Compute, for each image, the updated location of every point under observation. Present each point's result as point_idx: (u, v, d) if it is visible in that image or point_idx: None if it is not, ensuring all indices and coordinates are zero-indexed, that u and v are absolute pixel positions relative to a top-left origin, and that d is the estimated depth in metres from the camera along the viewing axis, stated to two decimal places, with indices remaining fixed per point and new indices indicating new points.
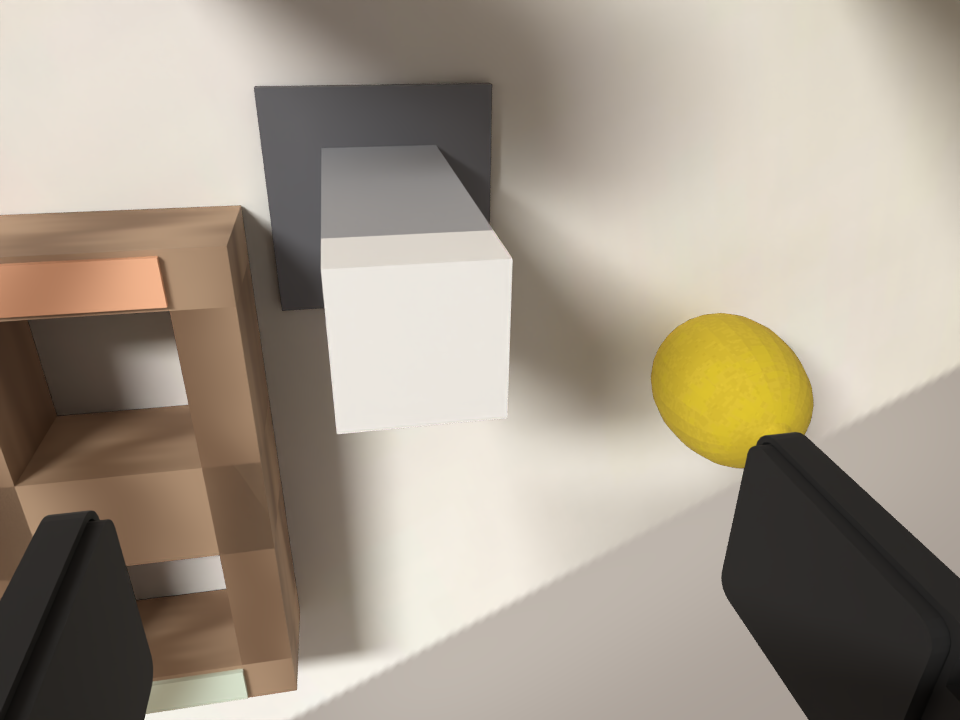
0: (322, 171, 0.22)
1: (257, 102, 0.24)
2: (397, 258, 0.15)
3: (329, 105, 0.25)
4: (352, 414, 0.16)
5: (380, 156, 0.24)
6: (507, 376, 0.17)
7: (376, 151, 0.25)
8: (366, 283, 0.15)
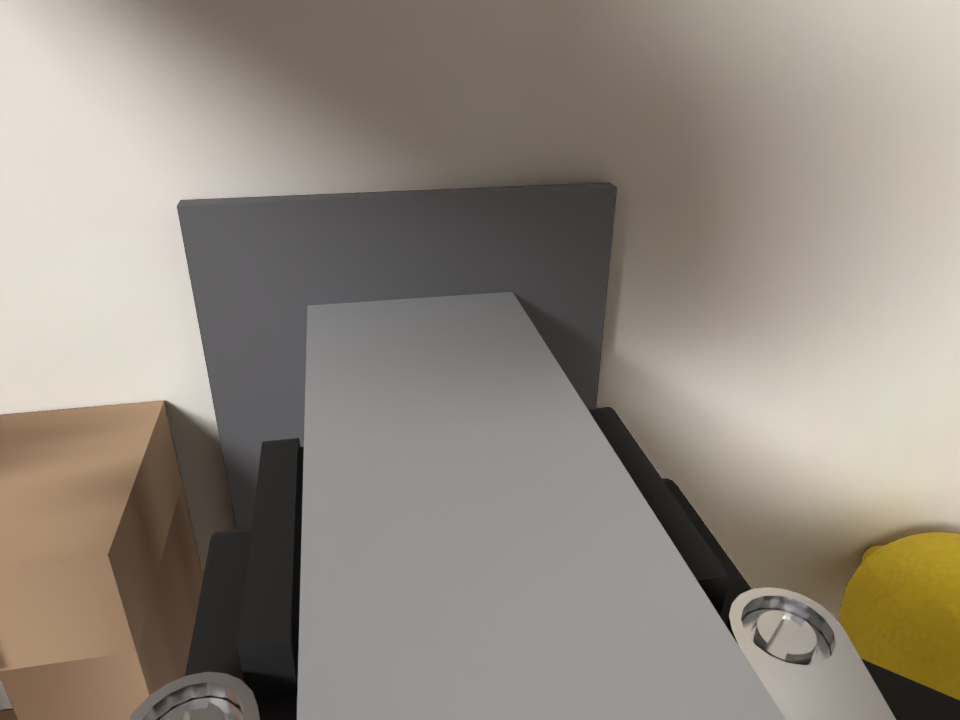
0: (307, 395, 0.11)
1: (184, 231, 0.13)
2: None
3: (321, 232, 0.13)
4: None
5: (419, 333, 0.13)
6: None
7: (408, 313, 0.13)
8: None
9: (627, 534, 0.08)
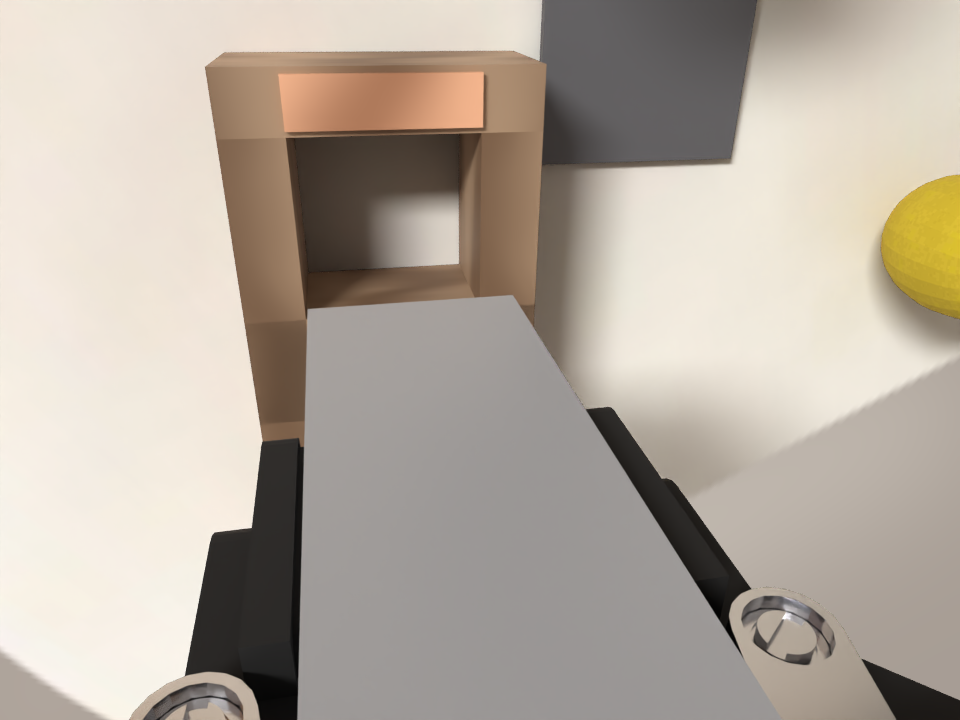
0: (307, 399, 0.11)
1: None
2: None
3: None
4: None
5: (419, 337, 0.13)
6: None
7: (408, 317, 0.13)
8: None
9: (628, 540, 0.08)
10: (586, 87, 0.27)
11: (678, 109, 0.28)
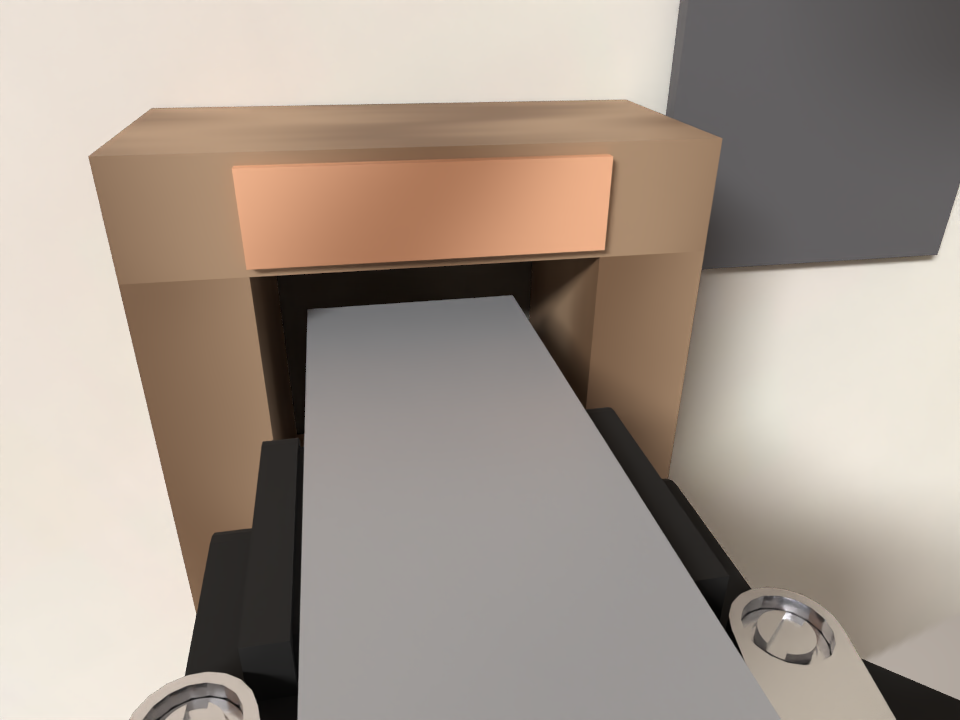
0: (307, 399, 0.11)
1: None
2: None
3: None
4: None
5: (419, 337, 0.13)
6: None
7: (408, 317, 0.13)
8: None
9: (627, 540, 0.08)
10: (737, 155, 0.17)
11: (871, 185, 0.18)
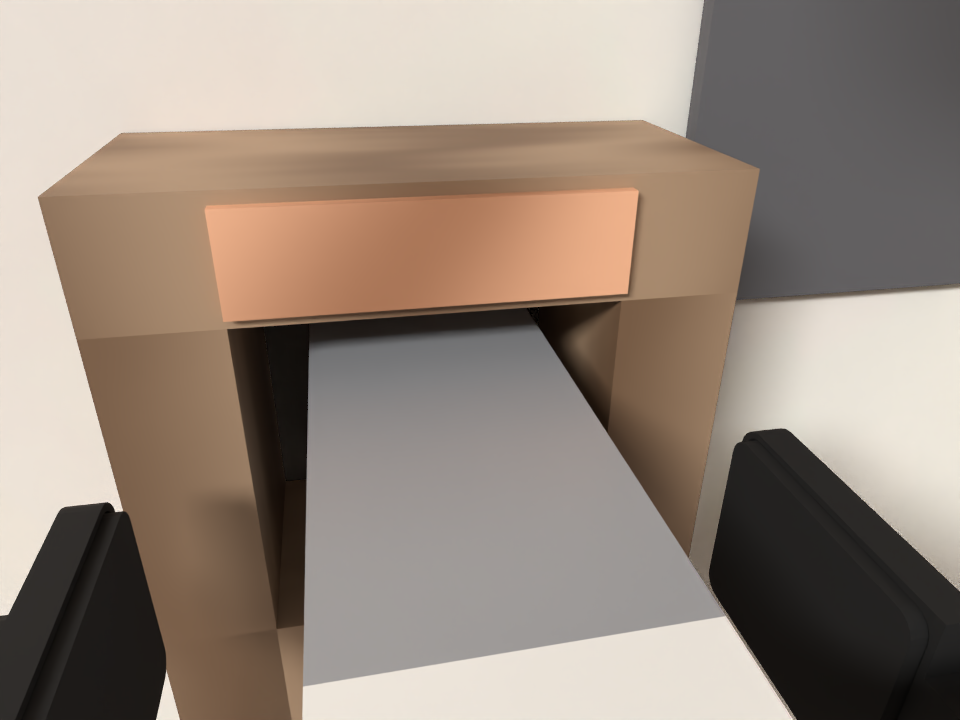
0: (311, 353, 0.12)
1: None
2: None
3: None
4: None
5: None
6: None
7: None
8: None
9: (589, 459, 0.09)
10: (763, 179, 0.16)
11: (906, 210, 0.17)
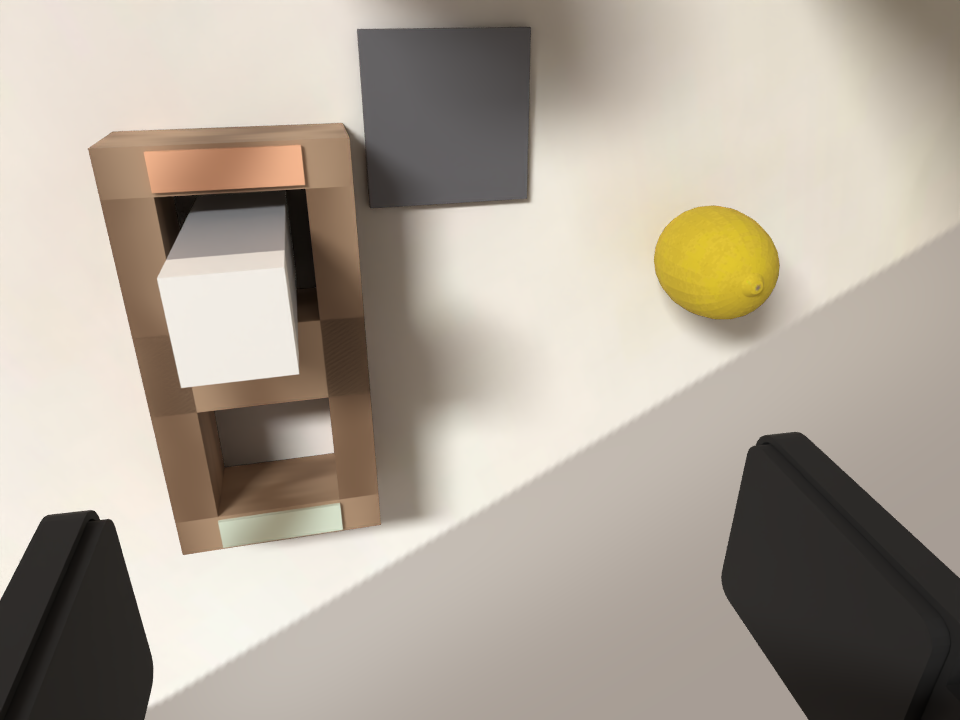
0: (189, 213, 0.31)
1: (359, 40, 0.32)
2: (209, 270, 0.24)
3: (411, 43, 0.33)
4: (190, 373, 0.25)
5: (238, 200, 0.33)
6: (295, 345, 0.26)
7: (237, 196, 0.34)
8: (188, 286, 0.24)
9: (273, 230, 0.28)
10: (402, 148, 0.35)
11: (478, 162, 0.36)
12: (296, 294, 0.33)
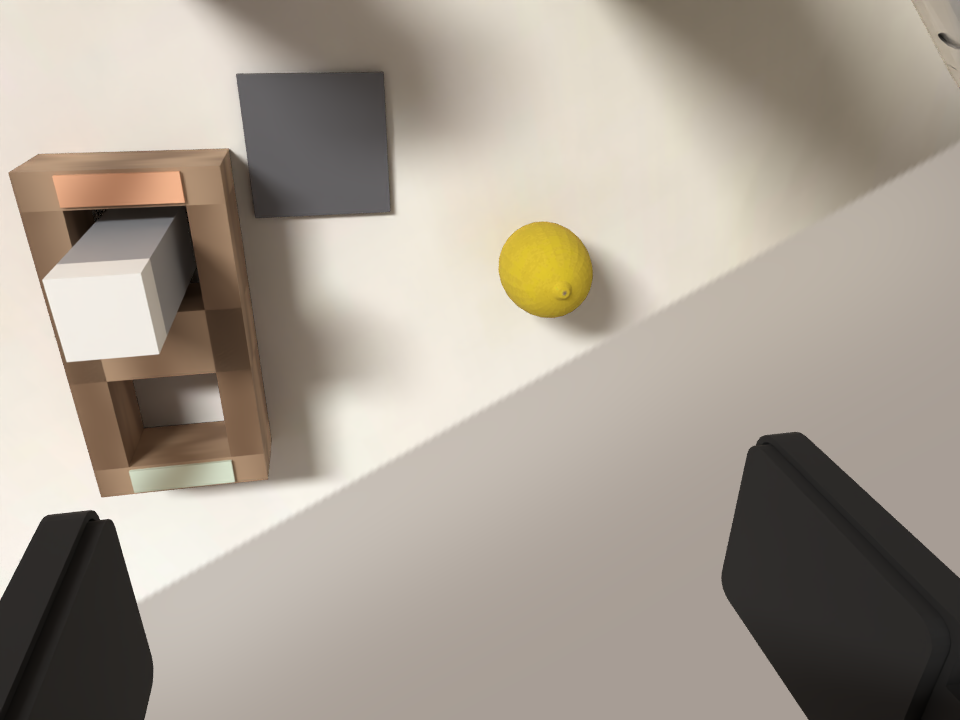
0: (95, 223, 0.39)
1: (238, 83, 0.40)
2: (84, 274, 0.32)
3: (282, 85, 0.40)
4: (73, 351, 0.33)
5: (140, 211, 0.41)
6: (155, 332, 0.33)
7: (142, 207, 0.41)
8: (66, 286, 0.32)
9: (151, 240, 0.36)
10: (279, 170, 0.42)
11: (346, 181, 0.43)
12: (185, 288, 0.41)
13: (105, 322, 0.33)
